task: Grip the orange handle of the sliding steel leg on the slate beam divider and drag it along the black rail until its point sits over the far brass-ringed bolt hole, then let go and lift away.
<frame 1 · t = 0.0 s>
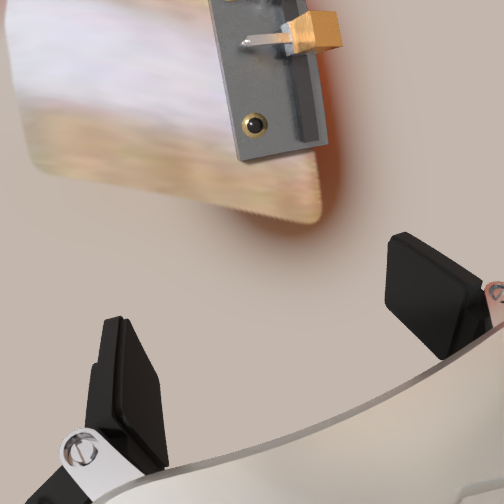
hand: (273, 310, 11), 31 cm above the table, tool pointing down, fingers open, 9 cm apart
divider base: (267, 60, 35), on the table
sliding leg: (287, 36, 28), point 6 cm above the table, slide at 0.0 cm
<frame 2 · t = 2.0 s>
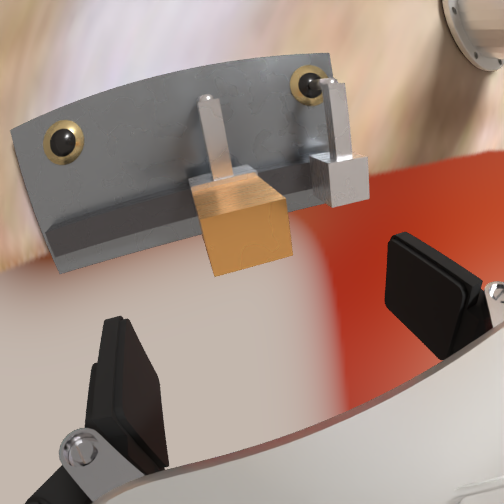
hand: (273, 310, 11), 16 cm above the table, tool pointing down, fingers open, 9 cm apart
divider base: (181, 153, 22), on the table
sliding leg: (223, 168, 17), point 6 cm above the table, slide at 0.0 cm
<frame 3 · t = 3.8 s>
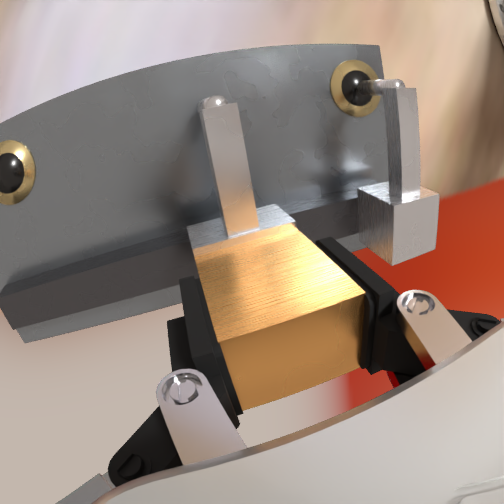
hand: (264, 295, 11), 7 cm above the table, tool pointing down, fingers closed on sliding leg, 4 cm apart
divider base: (176, 183, 16), on the table
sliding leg: (246, 221, 11), point 6 cm above the table, slide at 0.0 cm, touching gripper
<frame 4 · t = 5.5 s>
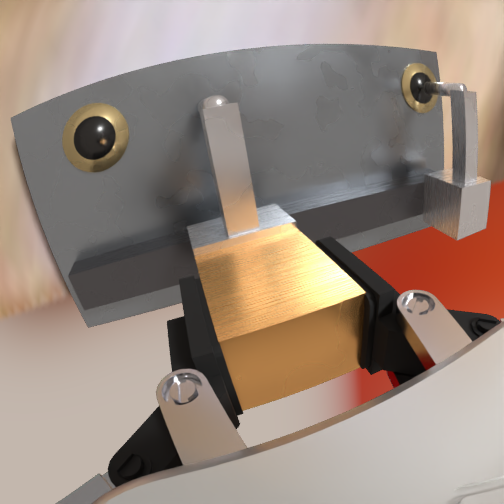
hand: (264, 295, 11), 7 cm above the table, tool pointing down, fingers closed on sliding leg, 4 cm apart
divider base: (266, 162, 17), on the table
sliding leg: (246, 221, 11), point 6 cm above the table, slide at 4.9 cm, touching gripper
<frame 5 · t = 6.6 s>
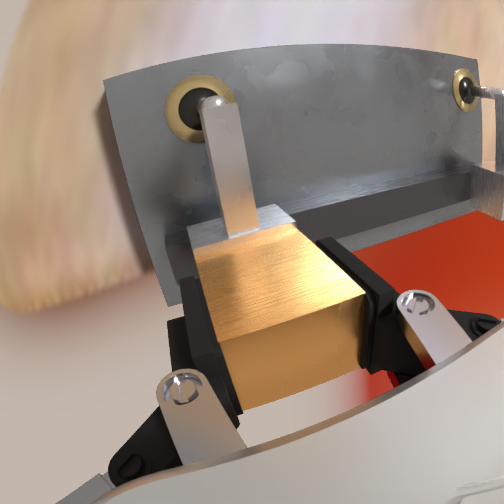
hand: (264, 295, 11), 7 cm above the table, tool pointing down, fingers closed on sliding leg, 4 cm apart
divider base: (346, 147, 18), on the table
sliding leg: (246, 222, 11), point 6 cm above the table, slide at 9.8 cm, touching gripper
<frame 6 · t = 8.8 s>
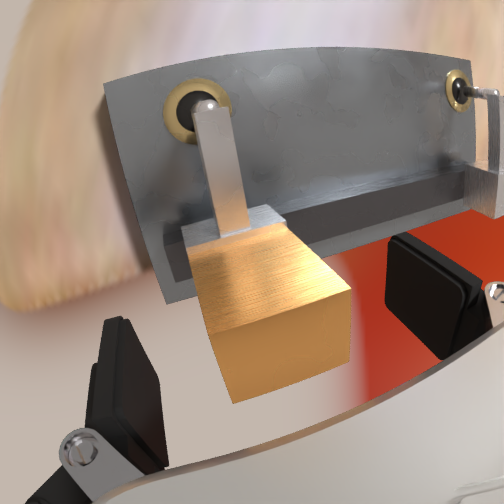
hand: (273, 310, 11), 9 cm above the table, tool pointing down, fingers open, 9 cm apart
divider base: (340, 148, 18), on the table
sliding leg: (237, 221, 11), point 6 cm above the table, slide at 10.0 cm
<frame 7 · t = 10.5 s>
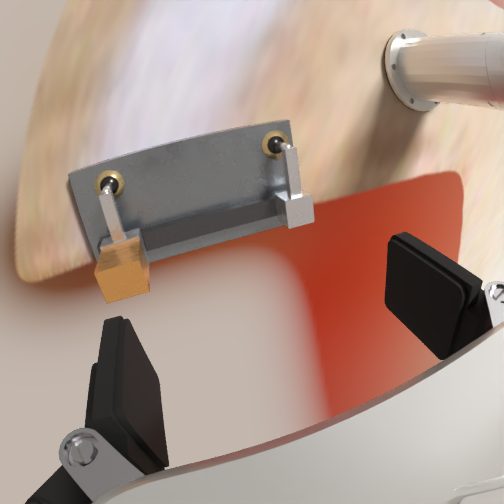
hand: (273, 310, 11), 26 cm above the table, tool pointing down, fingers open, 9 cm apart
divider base: (189, 193, 34), on the table
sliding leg: (116, 237, 27), point 6 cm above the table, slide at 10.0 cm
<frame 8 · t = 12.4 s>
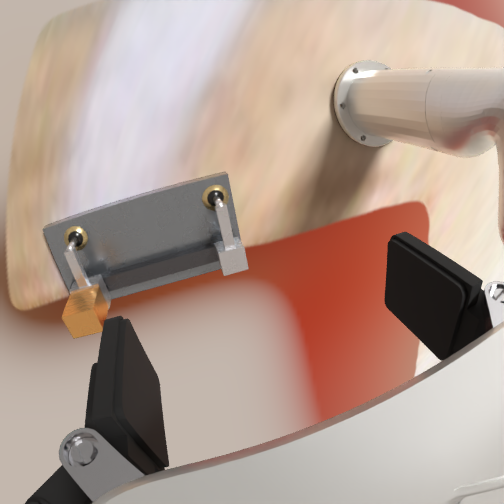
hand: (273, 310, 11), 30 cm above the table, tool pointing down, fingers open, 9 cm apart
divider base: (143, 241, 39), on the table
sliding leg: (79, 285, 33), point 6 cm above the table, slide at 10.0 cm
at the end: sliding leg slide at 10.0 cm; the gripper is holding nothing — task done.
